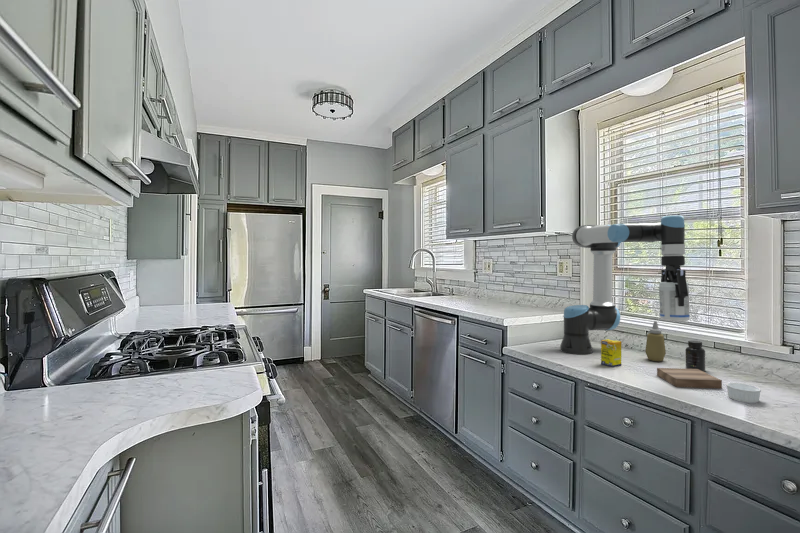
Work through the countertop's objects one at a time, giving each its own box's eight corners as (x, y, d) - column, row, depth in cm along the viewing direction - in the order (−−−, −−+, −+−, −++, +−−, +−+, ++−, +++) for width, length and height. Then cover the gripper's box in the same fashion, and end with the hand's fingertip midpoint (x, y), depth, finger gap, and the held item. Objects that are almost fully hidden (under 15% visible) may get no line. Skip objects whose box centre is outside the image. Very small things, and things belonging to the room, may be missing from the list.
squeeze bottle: (662, 363, 180) (662, 323, 179) (642, 360, 186) (642, 321, 185) (668, 360, 185) (668, 321, 185) (648, 357, 191) (648, 319, 191)
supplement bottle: (687, 366, 174) (687, 339, 174) (706, 369, 169) (706, 341, 169) (683, 369, 169) (683, 341, 169) (703, 372, 164) (703, 344, 164)
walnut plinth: (657, 375, 162) (657, 367, 162) (697, 376, 159) (697, 369, 159) (676, 387, 147) (676, 378, 147) (721, 388, 145) (721, 380, 145)
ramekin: (750, 395, 138) (750, 383, 137) (767, 404, 129) (767, 391, 129) (720, 393, 140) (720, 381, 139) (735, 402, 131) (735, 389, 131)
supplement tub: (694, 320, 153) (693, 282, 153) (682, 322, 148) (682, 283, 148) (666, 317, 161) (666, 281, 161) (654, 319, 156) (654, 282, 156)
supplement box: (600, 364, 179) (600, 340, 179) (609, 362, 182) (609, 338, 182) (613, 367, 174) (613, 342, 174) (621, 365, 177) (621, 341, 177)
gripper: (649, 256, 166) (650, 309, 166) (676, 255, 144) (676, 316, 144) (669, 255, 165) (670, 309, 165) (699, 254, 143) (700, 317, 143)
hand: (673, 313), depth 155 cm, fingers closed on supplement tub, 9 cm apart
